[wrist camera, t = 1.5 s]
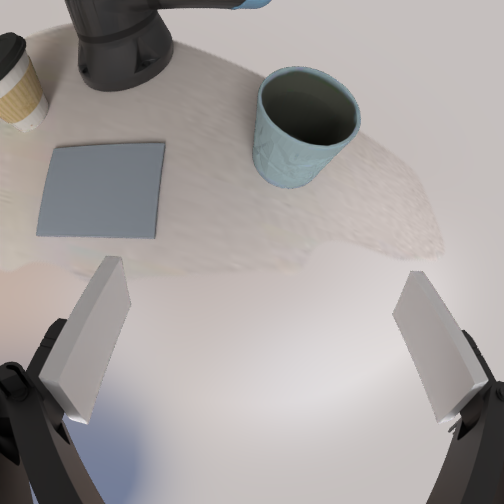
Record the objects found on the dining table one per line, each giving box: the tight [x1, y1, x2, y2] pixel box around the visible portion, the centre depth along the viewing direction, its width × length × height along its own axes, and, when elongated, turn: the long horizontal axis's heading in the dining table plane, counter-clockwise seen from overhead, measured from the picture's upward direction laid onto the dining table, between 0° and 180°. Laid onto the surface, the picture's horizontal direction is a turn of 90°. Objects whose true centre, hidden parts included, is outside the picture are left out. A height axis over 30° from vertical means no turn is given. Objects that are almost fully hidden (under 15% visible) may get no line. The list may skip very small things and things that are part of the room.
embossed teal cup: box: [253, 67, 361, 189], centre depth 32 cm, size 10×10×12 cm
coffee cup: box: [0, 32, 49, 132], centre depth 27 cm, size 10×10×15 cm
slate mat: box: [36, 143, 165, 239], centre depth 34 cm, size 12×16×1 cm
